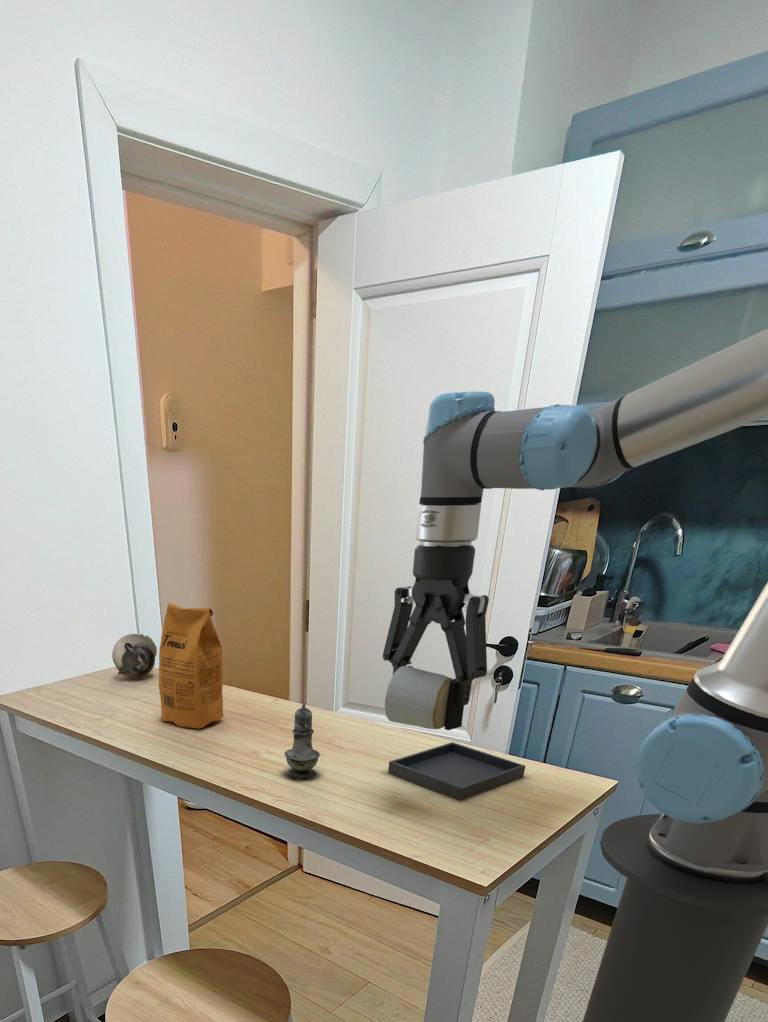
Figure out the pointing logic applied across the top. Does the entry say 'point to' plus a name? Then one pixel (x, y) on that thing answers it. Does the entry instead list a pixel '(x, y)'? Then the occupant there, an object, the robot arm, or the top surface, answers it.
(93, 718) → the top surface
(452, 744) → the tray
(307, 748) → the dark chess piece
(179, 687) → the coffee package
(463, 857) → the top surface
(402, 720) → the ceramic mug
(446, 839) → the top surface
